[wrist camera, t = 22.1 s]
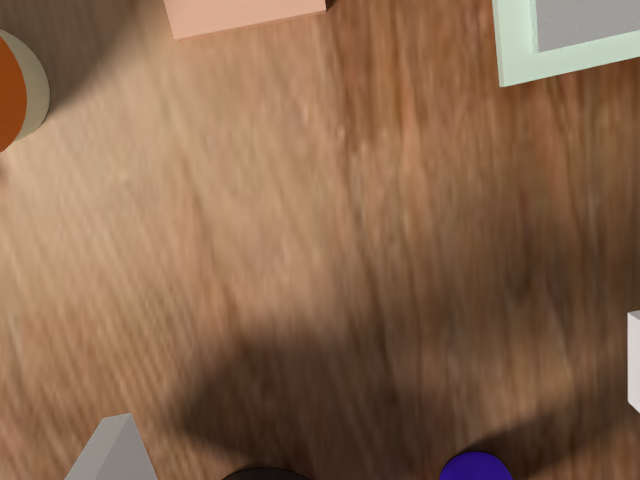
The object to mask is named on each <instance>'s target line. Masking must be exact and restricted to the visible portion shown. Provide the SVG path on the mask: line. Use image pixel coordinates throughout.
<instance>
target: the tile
mask: <svg viewBox="0 0 640 480" xmlns="http://www.w3.org/2000/svg"><path fill="white" fill-rule="evenodd" d="M164 4H165V7H166V11H167V15H168V19H169V23H170V26H171V30H172V34H173V38H174V40H176V41H179V42H180V41H185V40H190V39H195V38H200V37H205V36H210V35H216V34H221V33H226V32H231V31H236V30H241V29H246V28H251V27H256V26H261V25H267V24H272V23H277V22H282V21H287V20H292V19H297V18H302V17H307V16H312V15H318V14H323V13H326V5H325V0H164Z"/></svg>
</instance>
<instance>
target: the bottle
mask: <svg viewBox="0 0 640 480" xmlns="http://www.w3.org/2000/svg"><path fill="white" fill-rule="evenodd" d="M439 480H513V478H512V476H511V475H510V473H509V471H508V470H507V469H506V467H505V466H504V464H503V463H502V462H501V461H500V460H499V459H498V458H496V457H494V456H492V455H490V454H488V453H484V452H468V453H464V454H461V455H458V456H457V457H455V458H453V459H452V460H450V461H449V462H448V463H447V464H446V465H445V467H444V468H443V470H442V472H441V475H440V478H439Z"/></svg>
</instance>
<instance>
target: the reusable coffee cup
mask: <svg viewBox="0 0 640 480" xmlns="http://www.w3.org/2000/svg"><path fill="white" fill-rule="evenodd" d="M49 103H50V87H49V83H48V79H47V75H46V73H45V71H44V69H43V66H42V64H41V63H40V61H39V60H38V58H37V57H36V55H35V54H34V53H33V52H32V51H31V50H30V48H29V47H28V46H27V45H26V44H24V43H23V42H22V41H21V40H19V39H18V38H17V37H15V36H13V35H11V34H9V33H8V32H6V31H3V30H1V29H0V152H2V151H4V150H5V149H6V148H7V147H8V146H9V145H10V144H11V143H12V142H14V141H17V140H19V139H21V138H24V137H26V136H27V135H29V134H31V133H33V132H34V131H35V130H36V129H37V128H38V127H39V126H40V125H41V123H42V122H43V120H44V119H45V117H46V114H47V112H48V109H49Z"/></svg>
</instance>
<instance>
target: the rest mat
mask: <svg viewBox="0 0 640 480" xmlns="http://www.w3.org/2000/svg"><path fill="white" fill-rule="evenodd" d="M492 4H493V15H494V27H495V39H496V51H497V62H498V74H499V86H500V87H506V86H510V85H514V84H519V83H523V82H528V81H532V80H537V79H541V78H546V77H550V76H554V75H559V74H563V73H568V72H572V71H577V70H581V69H586V68H590V67H594V66H599V65H603V64H608V63H612V62H617V61H621V60H626V59H630V58H634V57H639V56H640V30H637V31H633V32H628V33H624V34H620V35H615V36H611V37H607V38H602V39H598V40H593V41H589V42H585V43H580V44H576V45H571V46H567V47H563V48H558V49H554V50H549V51H545V52H541V53H535V54H533V49H532V33H531V17H530V0H492Z"/></svg>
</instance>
